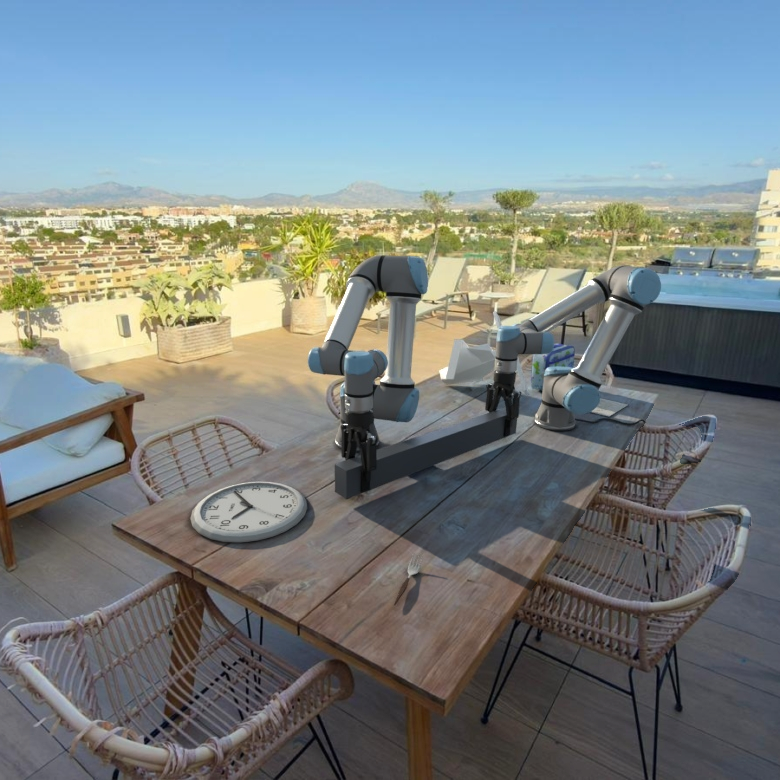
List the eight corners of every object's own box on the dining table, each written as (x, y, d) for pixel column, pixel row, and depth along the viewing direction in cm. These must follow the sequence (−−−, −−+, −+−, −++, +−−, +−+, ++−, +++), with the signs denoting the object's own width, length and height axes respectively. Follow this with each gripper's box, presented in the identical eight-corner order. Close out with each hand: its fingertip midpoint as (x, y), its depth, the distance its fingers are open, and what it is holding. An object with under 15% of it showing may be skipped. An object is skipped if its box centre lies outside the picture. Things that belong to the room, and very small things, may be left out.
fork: (388, 605, 105) (388, 597, 104) (412, 560, 119) (412, 553, 119) (400, 609, 104) (400, 600, 104) (423, 563, 119) (423, 555, 118)
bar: (503, 428, 194) (505, 407, 192) (515, 433, 190) (518, 411, 188) (334, 492, 146) (334, 463, 143) (346, 499, 142) (346, 470, 139)
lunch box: (547, 395, 239) (552, 351, 233) (526, 390, 247) (530, 347, 240) (574, 384, 257) (579, 343, 251) (554, 380, 264) (558, 339, 258)
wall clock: (302, 534, 126) (174, 538, 123) (303, 540, 126) (175, 544, 124) (310, 477, 154) (206, 479, 152) (310, 482, 155) (206, 484, 152)
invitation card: (608, 416, 214) (573, 407, 224) (608, 416, 214) (573, 408, 224) (628, 404, 229) (594, 396, 238) (628, 405, 229) (594, 397, 238)
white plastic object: (461, 429, 252) (437, 405, 227) (444, 352, 274) (420, 323, 250) (535, 404, 240) (518, 377, 215) (510, 326, 262) (492, 293, 237)
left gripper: (327, 403, 145) (328, 478, 152) (369, 421, 132) (368, 503, 139) (349, 398, 150) (349, 471, 156) (391, 415, 136) (389, 495, 143)
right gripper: (477, 367, 185) (473, 428, 192) (521, 378, 172) (514, 443, 179) (490, 364, 190) (486, 423, 197) (534, 374, 177) (527, 438, 184)
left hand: (358, 486), depth 147 cm, fingers closed on bar, 5 cm apart
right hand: (499, 433), depth 188 cm, fingers closed on bar, 5 cm apart
